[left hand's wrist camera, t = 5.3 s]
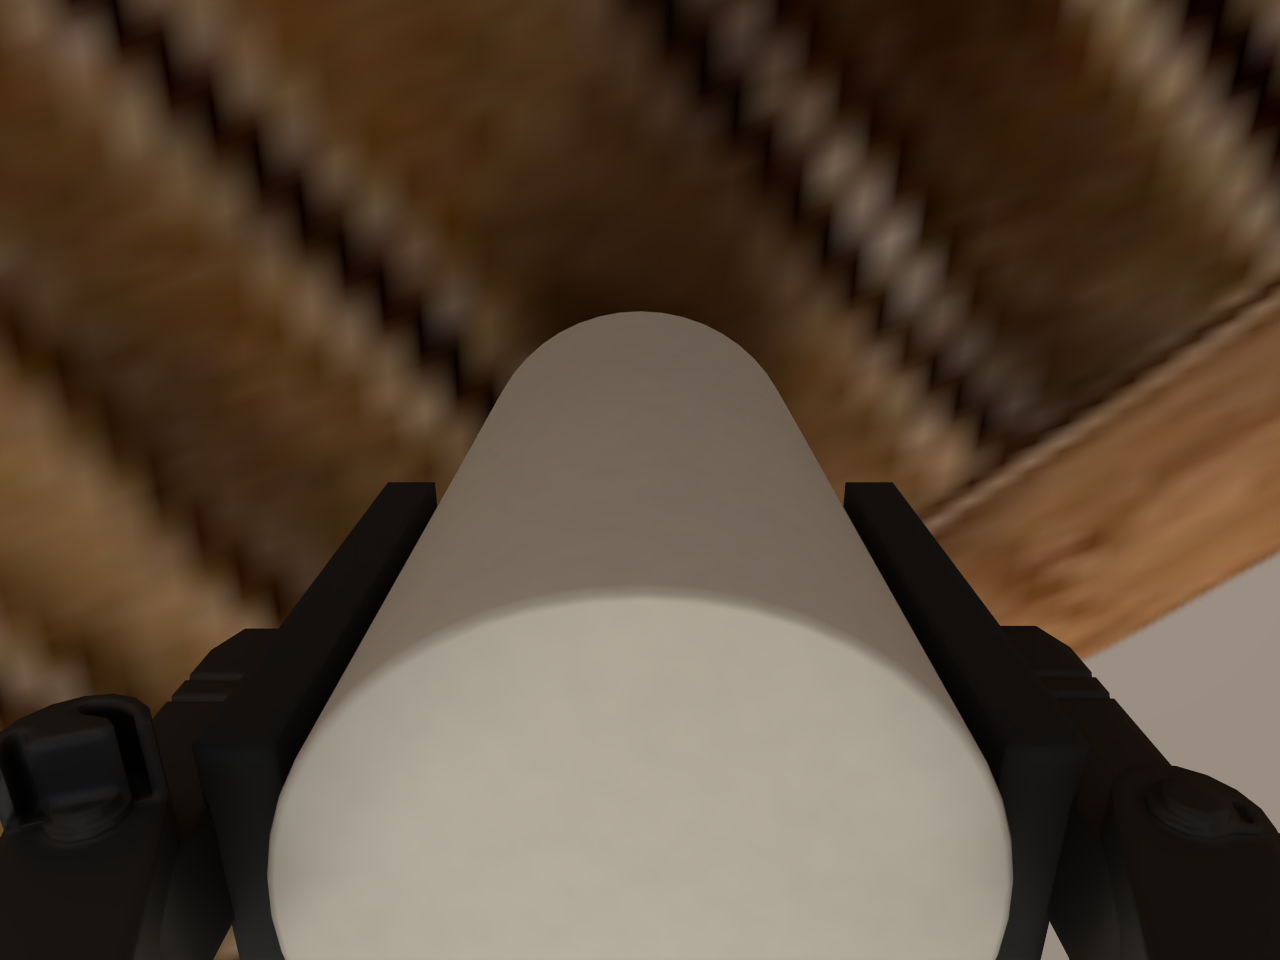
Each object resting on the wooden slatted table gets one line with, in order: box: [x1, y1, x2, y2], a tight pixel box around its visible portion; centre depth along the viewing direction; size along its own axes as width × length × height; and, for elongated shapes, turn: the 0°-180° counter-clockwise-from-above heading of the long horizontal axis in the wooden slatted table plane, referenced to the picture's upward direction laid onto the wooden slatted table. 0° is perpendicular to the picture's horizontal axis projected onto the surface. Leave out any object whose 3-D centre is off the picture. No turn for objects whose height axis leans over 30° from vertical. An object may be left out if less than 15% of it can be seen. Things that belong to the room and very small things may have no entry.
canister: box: [267, 311, 1013, 960], centre depth 13 cm, size 7×7×12 cm
